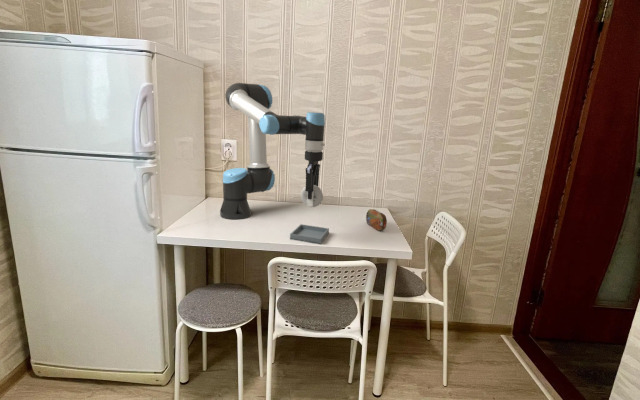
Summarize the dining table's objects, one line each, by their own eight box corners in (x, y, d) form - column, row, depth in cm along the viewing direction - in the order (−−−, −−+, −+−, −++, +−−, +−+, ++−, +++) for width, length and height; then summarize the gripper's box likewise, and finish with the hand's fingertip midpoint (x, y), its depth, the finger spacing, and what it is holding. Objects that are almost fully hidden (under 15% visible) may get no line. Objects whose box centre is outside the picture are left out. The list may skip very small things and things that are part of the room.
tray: (289, 239, 146) (290, 234, 146) (300, 229, 159) (300, 224, 159) (320, 244, 143) (320, 239, 142) (328, 233, 156) (328, 228, 155)
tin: (364, 222, 173) (366, 207, 171) (370, 222, 175) (371, 206, 172) (381, 233, 160) (383, 216, 158) (386, 232, 161) (388, 215, 159)
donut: (299, 206, 147) (299, 183, 144) (301, 204, 150) (302, 182, 148) (321, 209, 144) (322, 186, 142) (323, 207, 148) (324, 184, 145)
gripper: (317, 153, 132) (313, 211, 139) (327, 149, 148) (324, 201, 154) (298, 152, 134) (296, 208, 140) (311, 148, 150) (308, 199, 156)
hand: (311, 204), depth 147 cm, fingers closed on donut, 3 cm apart
